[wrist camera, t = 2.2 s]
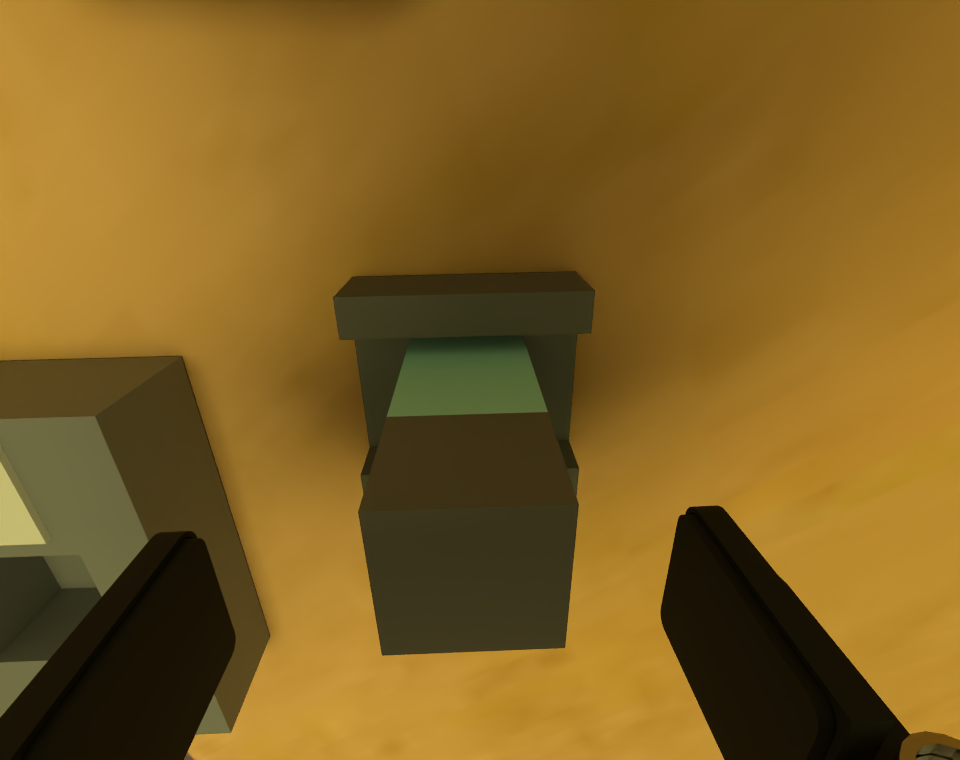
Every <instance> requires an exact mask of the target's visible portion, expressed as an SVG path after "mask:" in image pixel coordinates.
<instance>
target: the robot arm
mask: <svg viewBox="0 0 960 760" xmlns="http://www.w3.org/2000/svg"><path fill="white" fill-rule="evenodd" d="M661 620H662V624H663V628H664V630H665V632H666V635H667V637H668V639H669V641H670V643H671V645H672V647H673V650H674V652H675V654H676V656H677V658H678V660H679V663H680V665H681V667H682V669H683V671H684V673H685V676H686V678H687V680H688V682H689V684H690V686H691V689H692V691H693V693H694V695H695V697H696V699H697V701H698V704H699V706H700V708H701V710H702V712H703V714H704V717H705V719H706V721H707V723H708V725H709V727H710V730H711V732H712V734H713V736H714V738H715V740H716V743H717V745H718V747H719V749H720V751H721V753H722V755H723V758H724V760H960V740H958V739H955V738H952V737H950V736H947V735H945V734H939V733H933V732H927V731H924V732H919V733H913V734H909V733H908V731H907V730H906V729H905V728H904V727H903V725H902V724H901V723H900V722H899V720H898V719H897V718H896V717H895V715H894V714H893V713H892V712H891V711H890V709H889V708H888V707H887V706H886V704H885V703H884V702H883V701H882V700H881V698H880V697H879V696H878V695H877V693H876V692H875V691H874V690H873V689H872V687H871V686H870V685H869V684H868V682H867V681H866V680H865V679H864V678H863V676H862V675H861V674H860V673H859V671H858V670H857V669H856V668H855V667H854V665H853V664H852V663H851V662H850V660H849V659H848V658H847V657H846V656H845V654H844V653H843V652H842V651H841V649H840V648H839V647H838V646H837V645H836V643H835V642H834V641H833V640H832V638H831V637H830V636H829V635H828V634H827V632H826V631H825V630H824V629H823V627H822V626H821V625H820V624H819V622H818V621H817V620H816V619H815V618H814V616H813V615H812V614H811V613H810V611H809V610H808V609H807V608H806V607H805V605H804V604H803V603H802V602H801V600H800V599H799V598H798V597H797V596H796V594H795V593H794V592H793V591H792V589H791V588H790V587H789V586H788V585H787V584H786V583H785V582H784V581H783V580H782V579H781V578H780V577H779V576H778V575H777V573H776V572H775V571H774V570H773V569H772V567H771V566H770V565H769V564H768V562H767V561H766V560H765V559H764V557H763V556H762V555H761V554H760V553H759V551H758V550H757V549H756V548H755V546H754V545H753V544H752V543H751V541H750V540H749V539H748V538H747V537H746V535H745V534H744V533H743V532H742V530H741V529H740V528H739V527H738V525H737V524H736V523H735V522H734V521H733V519H732V518H731V517H730V516H729V514H728V513H727V512H726V511H725V510H724V509H723V508H722V507H720V506H699V507H689V508H688V509H687V511H686V514H685V515H680V517H679V519H678V522H677V527H676V533H675V538H674V543H673V548H672V553H671V559H670V564H669V569H668V574H667V579H666V585H665V590H664V595H663V600H662V605H661ZM235 643H236V635H235V631H234V628H233V625H232V622H231V619H230V616H229V613H228V609H227V606H226V603H225V600H224V597H223V594H222V591H221V588H220V585H219V582H218V579H217V576H216V573H215V570H214V567H213V564H212V561H211V558H210V555H209V552H208V549H207V546H206V543H205V541H204V540H203V539H202V538H197V536H196V534H195V533H194V532H193V531H175V532H160V533H157V534H155V535H154V536H153V537H152V538H151V539H150V540H149V541H148V543H147V544H146V545H145V546H144V547H143V548H142V550H141V551H140V552H139V553H138V554H137V556H136V557H135V558H134V559H133V560H132V562H131V563H130V564H129V565H128V566H127V568H126V569H125V570H124V571H123V572H122V573H121V575H120V576H119V577H118V578H117V579H116V581H115V582H114V583H113V584H112V585H111V587H110V588H109V589H108V590H107V591H106V592H105V594H104V595H103V596H102V597H101V598H100V600H99V601H98V602H97V603H96V604H95V606H94V607H93V608H92V609H91V610H90V611H89V613H88V614H87V615H86V616H85V617H84V619H83V620H82V621H81V622H80V623H79V625H78V626H77V627H76V628H75V629H74V631H73V632H72V633H71V634H70V635H69V636H68V638H67V639H66V640H65V641H64V642H63V644H62V645H61V646H60V647H59V648H58V650H57V651H56V652H55V653H54V654H53V655H52V657H51V658H50V659H49V660H48V661H47V663H46V664H45V665H44V666H43V667H42V669H41V670H40V671H39V672H38V673H37V674H36V676H35V677H34V678H33V679H32V680H31V682H30V683H29V684H28V685H27V686H26V688H25V689H24V690H23V691H22V692H21V694H20V695H19V696H18V697H17V698H16V699H15V701H14V702H13V703H12V704H11V705H10V707H9V708H8V709H7V710H6V711H5V713H4V714H3V715H2V716H1V717H0V760H184V758H185V756H186V754H187V751H188V749H189V747H190V745H191V743H192V741H193V739H194V736H195V734H196V732H197V730H198V728H199V726H200V724H201V721H202V719H203V717H204V715H205V713H206V711H207V709H208V706H209V704H210V702H211V700H212V698H213V696H214V693H215V691H216V689H217V687H218V685H219V683H220V681H221V678H222V676H223V674H224V672H225V670H226V668H227V666H228V663H229V661H230V659H231V657H232V655H233V652H234V648H235Z"/></svg>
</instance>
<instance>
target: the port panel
mask: <svg viewBox="0 0 960 760" xmlns="http://www.w3.org/2000/svg"><path fill="white" fill-rule="evenodd" d="M175 531H193V532H194V533H195V534H196V536H197V538H202V539H203V540H204V541H205V543H206V546H207V549H208V552H209V555H210V558H211V561H212V564H213V567H214V570H215V573H216V576H217V579H218V582H219V585H220V588H221V591H222V594H223V597H224V600H225V603H226V606H227V609H228V613H229V616H230V619H231V622H232V625H233V628H234V631H235V635H236V643H235V648H234V652H233V655H232V657H231V659H230V661H229V663H228V666H227V668H226V670H225V672H224V674H223V676H222V678H221V681H220V683H219V685H218V687H217V689H216V691H215V693H214V696H213V698H212V700H211V702H210V704H209V706H208V709H207V711H206V713H205V715H204V717H203V719H202V721H201V724H200V726H199V728H198V730H197V732H196V734H217V733H231V731H232V729H233V726H234V724H235V721H236V719H237V717H238V714H239V712H240V709H241V707H242V704H243V702H244V699H245V697H246V694H247V692H248V689H249V687H250V685H251V682H252V680H253V677H254V675H255V672H256V670H257V667H258V665H259V662H260V660H261V657H262V655H263V653H264V650H265V648H266V645H267V643H268V640H269V638H270V635H269V631H268V628H267V625H266V622H265V619H264V616H263V612H262V609H261V606H260V603H259V600H258V597H257V594H256V590H255V587H254V584H253V581H252V578H251V575H250V571H249V568H248V565H247V562H246V559H245V556H244V553H243V549H242V546H241V543H240V540H239V537H238V534H237V530H236V527H235V524H234V521H233V518H232V515H231V512H230V508H229V505H228V502H227V499H226V496H225V493H224V489H223V486H222V483H221V480H220V477H219V474H218V471H217V467H216V464H215V461H214V458H213V455H212V452H211V448H210V445H209V442H208V439H207V436H206V433H205V430H204V426H203V423H202V420H201V417H200V414H199V411H198V407H197V404H196V401H195V398H194V395H193V392H192V389H191V385H190V382H189V379H188V376H187V373H186V370H185V367H184V363H183V360H182V357H181V356H169V357H132V358H95V359H59V360H22V361H0V717H1V716H2V715H3V714H4V713H5V711H6V710H7V709H8V708H9V707H10V705H11V704H12V703H13V702H14V701H15V699H16V698H17V697H18V696H19V695H20V694H21V692H22V691H23V690H24V689H25V688H26V686H27V685H28V684H29V683H30V682H31V680H32V679H33V678H34V677H35V676H36V674H37V673H38V672H39V671H40V670H41V669H42V667H43V666H44V665H45V664H46V663H47V661H48V660H49V659H50V658H51V657H52V655H53V654H54V653H55V652H56V651H57V650H58V648H59V647H60V646H61V645H62V644H63V642H64V641H65V640H66V639H67V638H68V636H69V635H70V634H71V633H72V632H73V631H74V629H75V628H76V627H77V626H78V625H79V623H80V622H81V621H82V620H83V619H84V617H85V616H86V615H87V614H88V613H89V611H90V610H91V609H92V608H93V607H94V606H95V604H96V603H97V602H98V601H99V600H100V598H101V597H102V596H103V595H104V594H105V592H106V591H107V590H108V589H109V588H110V587H111V585H112V584H113V583H114V582H115V581H116V579H117V578H118V577H119V576H120V575H121V573H122V572H123V571H124V570H125V569H126V568H127V566H128V565H129V564H130V563H131V562H132V560H133V559H134V558H135V557H136V556H137V554H138V553H139V552H140V551H141V550H142V548H143V547H144V546H145V545H146V544H147V543H148V541H149V540H150V539H151V538H152V537H153V536H154V535H155V534H157V533H160V532H175Z"/></svg>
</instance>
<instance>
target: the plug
mask: <svg viewBox="0 0 960 760" xmlns="http://www.w3.org/2000/svg"><path fill="white" fill-rule="evenodd" d="M578 506H579V504H578V501H577V498H576V495H575V492H574V489H573V486H572V483H571V480H570V477H569V474H568V471H567V468H566V465H565V462H564V459H563V456H562V453H561V450H560V447H559V444H558V441H557V438H556V435H555V432H554V429H553V426H552V423H551V420H550V417H549V414H548V411H547V408H546V405H545V402H544V399H543V396H542V393H541V390H540V387H539V384H538V381H537V378H536V375H535V372H534V369H533V366H532V363H531V360H530V357H529V354H528V351H527V348H526V345H525V342H524V339H523V336H522V335H506V336H468V337H431V338H410V341H409V344H408V347H407V351H406V354H405V357H404V361H403V364H402V367H401V371H400V374H399V377H398V381H397V384H396V387H395V391H394V394H393V397H392V401H391V404H390V407H389V411H388V414H387V417H386V421H385V424H384V427H383V431H382V434H381V438H380V441H379V444H378V448H377V451H376V454H375V458H374V461H373V464H372V468H371V471H370V474H369V478H368V481H367V484H366V488H365V491H364V494H363V498H362V501H361V504H360V508H359V511H358V513H359V519H360V526H361V532H362V538H363V544H364V550H365V556H366V562H367V568H368V574H369V580H370V586H371V592H372V598H373V604H374V610H375V616H376V622H377V628H378V634H379V640H380V646H381V652H382V655H405V654H429V653H453V652H477V651H502V650H526V649H550V648H565V643H566V632H567V622H568V611H569V601H570V590H571V580H572V569H573V559H574V548H575V538H576V527H577V517H578Z"/></svg>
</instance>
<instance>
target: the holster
mask: <svg viewBox="0 0 960 760" xmlns="http://www.w3.org/2000/svg"><path fill="white" fill-rule="evenodd" d="M594 297H595V290H594V289H593V288H592V287H591V286H590V285H589V284H588V283H587V282H586V281H585V280H584V279H583V278H582V277H581V276H580V275H579V274H578V273H577V272H534V273H492V274H450V275H407V276H365V277H352V278H351V279H350V280H349V281H348V282H347V283H346V284H345V285H344V286H343V287H342V288H341V289H340V290H339V292H338V293H337V294H336V295H335V296H334V297H333V301H334V308H335V314H336V320H337V327H338V333H339V340H355V346H356V353H357V360H358V367H359V374H360V381H361V388H362V395H363V402H364V409H365V417H366V424H367V431H368V438H369V445H370V448H369V451H368V455H367V458H366V461H365V464H364V467H363V470H362V473H361V481H362V487H363V493H364V491H365V488H366V484H367V481H368V478H369V474H370V471H371V468H372V464H373V461H374V458H375V454H376V451H377V448H378V444H379V441H380V438H381V434H382V431H383V427H384V424H385V421H386V417H387V414H388V411H389V407H390V404H391V401H392V397H393V394H394V391H395V387H396V384H397V381H398V377H399V374H400V371H401V367H402V364H403V361H404V357H405V354H406V351H407V347H408V344H409V341H410V338H431V337H468V336H506V335H522V336H523V339H524V342H525V345H526V348H527V351H528V354H529V357H530V360H531V363H532V366H533V369H534V372H535V375H536V378H537V381H538V384H539V387H540V390H541V393H542V396H543V399H544V402H545V405H546V408H547V411H548V414H549V417H550V420H551V423H552V426H553V429H554V432H555V435H556V438H557V441H558V444H559V447H560V450H561V453H562V456H563V459H564V462H565V465H566V468H567V471H568V474H569V477H570V480H571V483H572V486H573V489H574V492H575V495H576V494H577V483H578V472H579V467H578V465H577V462H576V459H575V457H574V454H573V451H572V448H571V446H570V443H569V431H570V418H571V405H572V392H573V379H574V366H575V353H576V340H577V334H581V333H591V330H592V319H593V308H594Z"/></svg>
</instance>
